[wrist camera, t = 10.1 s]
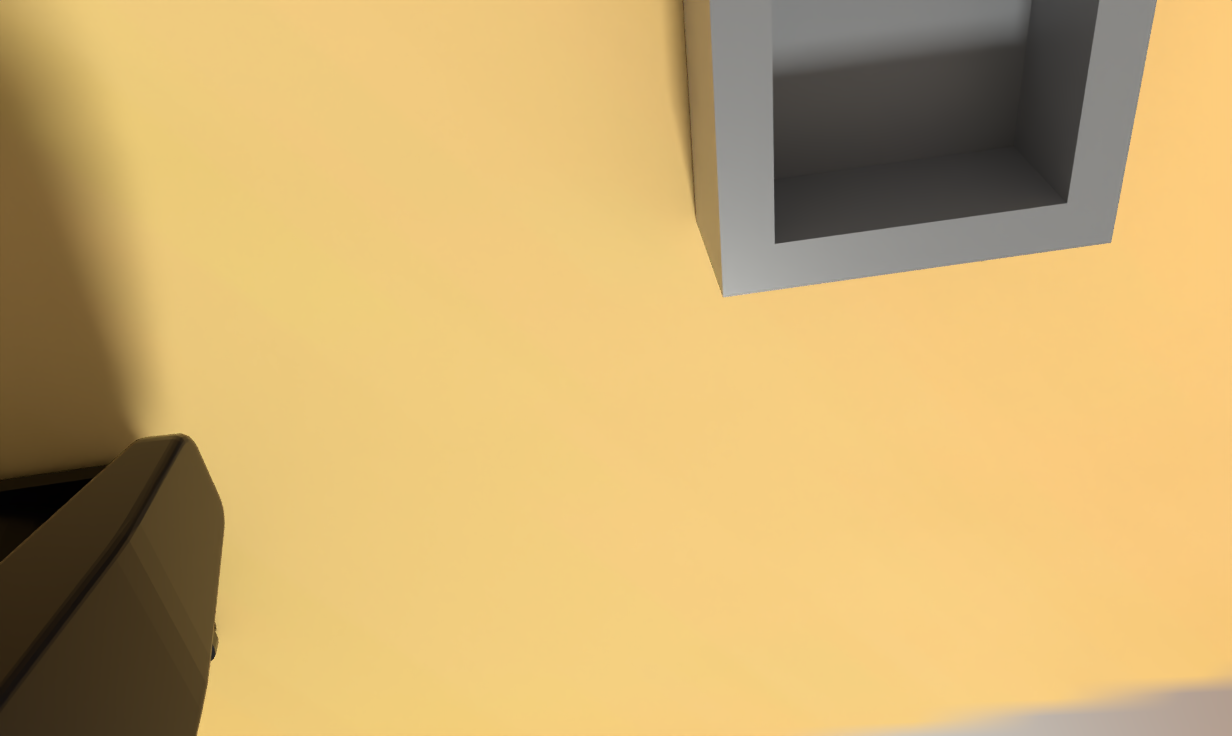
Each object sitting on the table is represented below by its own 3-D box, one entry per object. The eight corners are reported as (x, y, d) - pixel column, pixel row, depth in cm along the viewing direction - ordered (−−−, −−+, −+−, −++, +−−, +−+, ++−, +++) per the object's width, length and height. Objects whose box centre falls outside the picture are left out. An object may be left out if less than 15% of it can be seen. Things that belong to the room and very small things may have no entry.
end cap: (696, 221, 24) (722, 297, 21) (673, -165, 19) (703, -125, 17) (1045, 173, 24) (1111, 242, 22) (1101, -219, 20) (1191, -187, 17)
